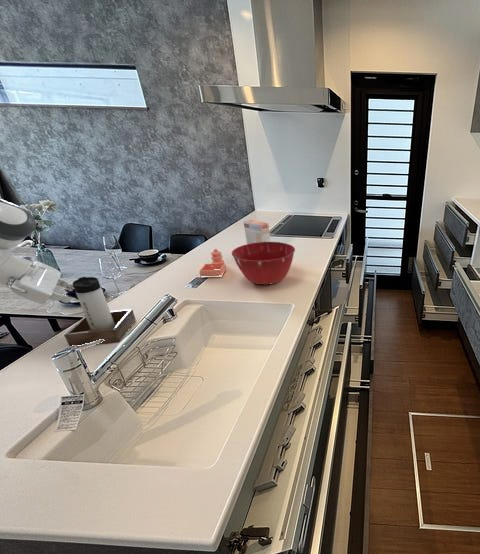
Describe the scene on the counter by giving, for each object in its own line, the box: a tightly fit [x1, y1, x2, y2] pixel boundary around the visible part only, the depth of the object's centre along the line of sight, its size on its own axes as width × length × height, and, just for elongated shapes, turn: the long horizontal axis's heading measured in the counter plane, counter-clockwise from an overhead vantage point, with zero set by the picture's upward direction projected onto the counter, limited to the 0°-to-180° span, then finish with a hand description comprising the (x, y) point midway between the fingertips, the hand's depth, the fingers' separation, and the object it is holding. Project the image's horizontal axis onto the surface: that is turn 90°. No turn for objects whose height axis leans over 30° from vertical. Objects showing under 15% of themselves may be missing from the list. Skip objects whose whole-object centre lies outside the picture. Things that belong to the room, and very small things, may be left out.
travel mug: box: [72, 276, 115, 331], centre depth 101 cm, size 6×7×20 cm
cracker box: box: [243, 219, 271, 244], centre depth 173 cm, size 14×6×21 cm, turn 59°
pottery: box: [199, 248, 226, 278], centre depth 155 cm, size 18×10×10 cm, turn 11°
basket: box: [64, 308, 137, 348], centre depth 104 cm, size 14×14×5 cm
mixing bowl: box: [231, 241, 296, 285], centre depth 146 cm, size 28×28×15 cm
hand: (72, 294), depth 97 cm, fingers open, 8 cm apart
